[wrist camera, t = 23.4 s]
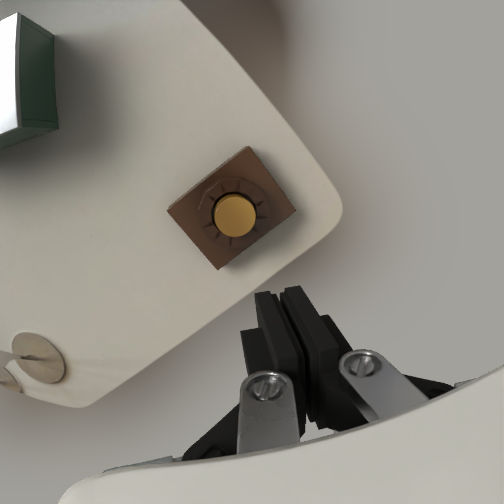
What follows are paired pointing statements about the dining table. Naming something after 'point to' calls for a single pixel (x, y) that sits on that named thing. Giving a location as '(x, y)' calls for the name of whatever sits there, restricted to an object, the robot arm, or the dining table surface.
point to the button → (234, 215)
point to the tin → (35, 84)
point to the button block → (220, 185)
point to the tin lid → (10, 74)
